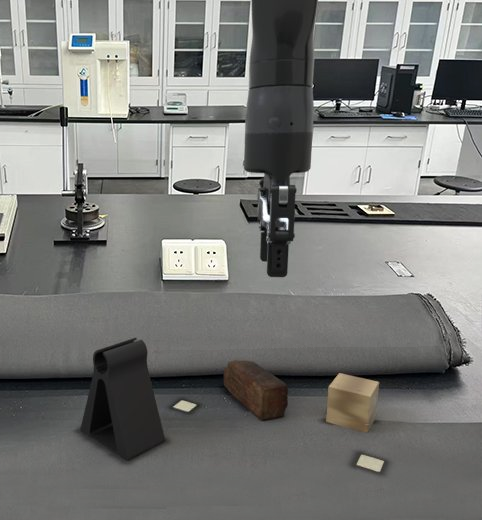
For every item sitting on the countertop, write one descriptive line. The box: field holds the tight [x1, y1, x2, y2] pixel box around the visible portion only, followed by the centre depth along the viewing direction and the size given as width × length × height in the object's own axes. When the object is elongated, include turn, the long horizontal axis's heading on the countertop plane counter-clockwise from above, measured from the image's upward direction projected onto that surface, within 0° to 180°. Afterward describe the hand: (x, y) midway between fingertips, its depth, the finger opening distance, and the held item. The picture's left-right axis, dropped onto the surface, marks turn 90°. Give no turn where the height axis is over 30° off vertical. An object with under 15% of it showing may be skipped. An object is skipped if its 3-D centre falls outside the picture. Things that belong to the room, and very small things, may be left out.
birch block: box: [325, 372, 380, 434], centre depth 68 cm, size 5×5×5 cm
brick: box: [223, 359, 289, 422], centre depth 73 cm, size 11×4×5 cm, turn 19°
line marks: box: [172, 399, 385, 473], centre depth 66 cm, size 26×2×1 cm, turn 55°
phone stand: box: [79, 337, 166, 462], centre depth 64 cm, size 9×6×12 cm, turn 42°
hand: (272, 268), depth 64 cm, fingers open, 8 cm apart
